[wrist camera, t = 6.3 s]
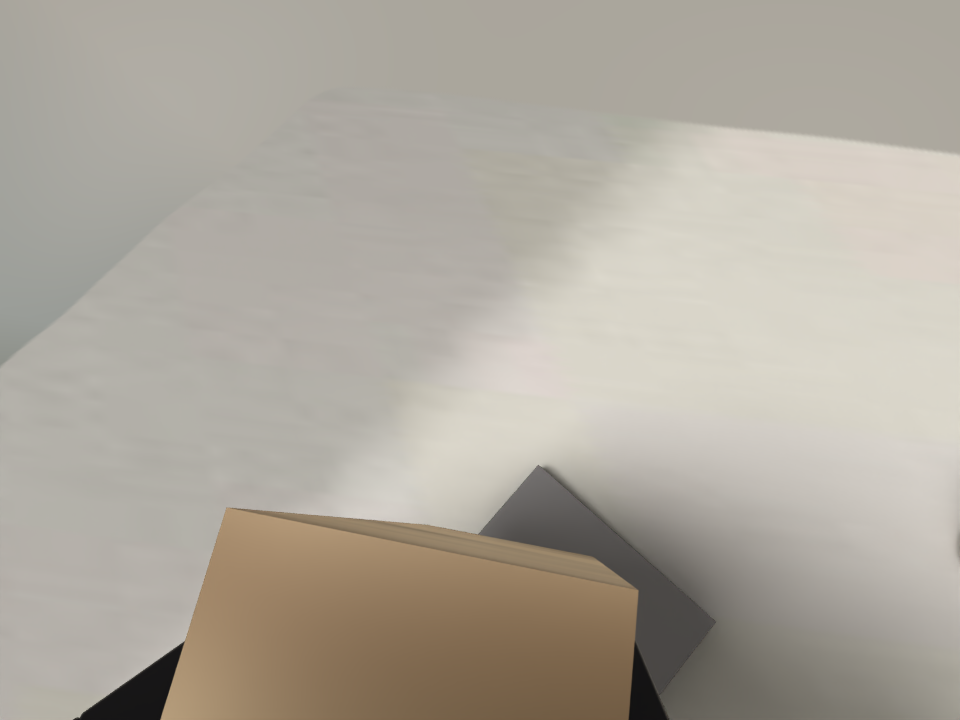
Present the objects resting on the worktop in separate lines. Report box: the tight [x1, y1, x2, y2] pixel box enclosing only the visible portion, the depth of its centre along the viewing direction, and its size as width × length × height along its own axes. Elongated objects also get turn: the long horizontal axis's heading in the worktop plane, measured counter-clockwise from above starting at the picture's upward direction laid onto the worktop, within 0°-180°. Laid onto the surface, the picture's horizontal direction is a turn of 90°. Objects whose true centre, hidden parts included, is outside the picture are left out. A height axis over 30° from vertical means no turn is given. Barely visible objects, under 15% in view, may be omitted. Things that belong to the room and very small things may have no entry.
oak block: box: [161, 508, 639, 720], centre depth 10 cm, size 5×5×10 cm
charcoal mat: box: [478, 465, 716, 695], centre depth 19 cm, size 12×8×1 cm, turn 137°
